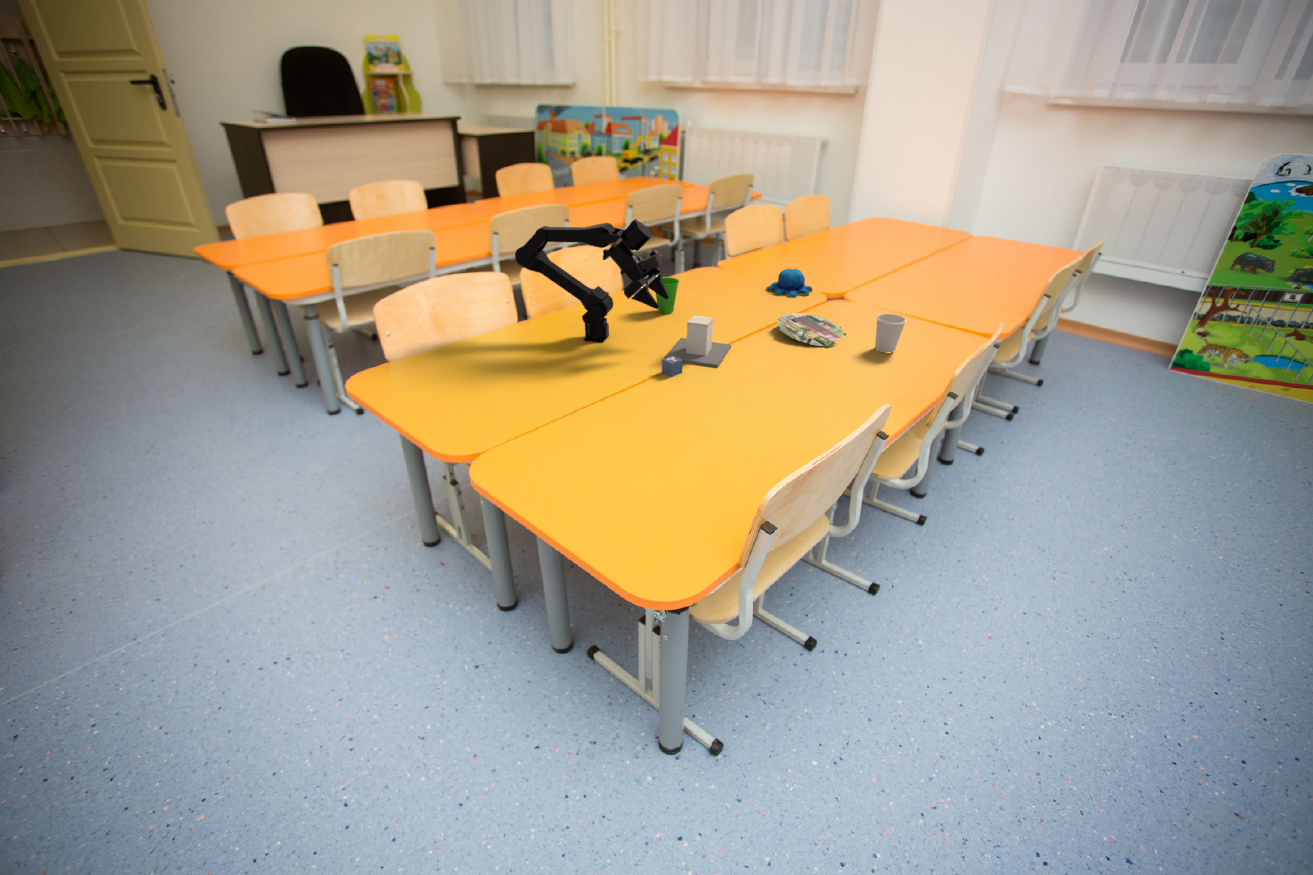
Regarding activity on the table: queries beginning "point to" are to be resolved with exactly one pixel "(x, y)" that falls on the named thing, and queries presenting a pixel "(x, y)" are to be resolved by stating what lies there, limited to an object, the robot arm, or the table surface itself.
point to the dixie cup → (888, 331)
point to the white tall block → (699, 335)
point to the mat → (710, 359)
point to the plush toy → (790, 284)
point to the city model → (810, 329)
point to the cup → (671, 289)
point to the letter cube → (672, 366)
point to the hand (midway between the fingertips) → (663, 303)
